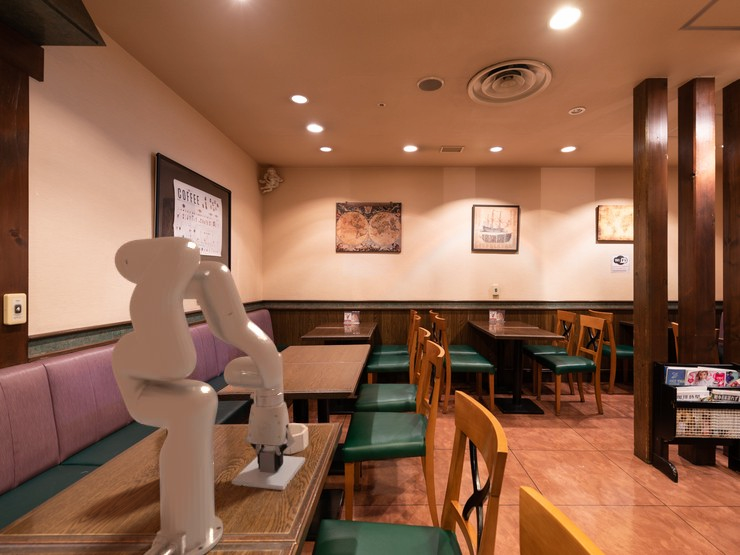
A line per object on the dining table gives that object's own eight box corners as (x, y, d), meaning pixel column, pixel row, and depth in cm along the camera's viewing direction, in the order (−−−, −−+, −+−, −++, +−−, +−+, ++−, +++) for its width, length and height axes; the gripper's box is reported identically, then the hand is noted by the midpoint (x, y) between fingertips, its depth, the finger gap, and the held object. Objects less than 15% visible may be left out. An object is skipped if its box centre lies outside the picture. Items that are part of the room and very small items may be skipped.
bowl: (299, 455, 104) (299, 438, 104) (268, 452, 106) (267, 435, 106) (312, 439, 114) (311, 424, 114) (283, 437, 116) (282, 422, 116)
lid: (283, 490, 87) (282, 465, 87) (231, 484, 89) (231, 460, 90) (305, 461, 100) (304, 439, 100) (260, 457, 103) (259, 436, 103)
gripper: (232, 402, 93) (234, 471, 93) (292, 405, 90) (293, 477, 89) (248, 392, 100) (249, 457, 100) (303, 395, 97) (305, 462, 97)
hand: (270, 466), depth 95 cm, fingers closed on lid, 4 cm apart
